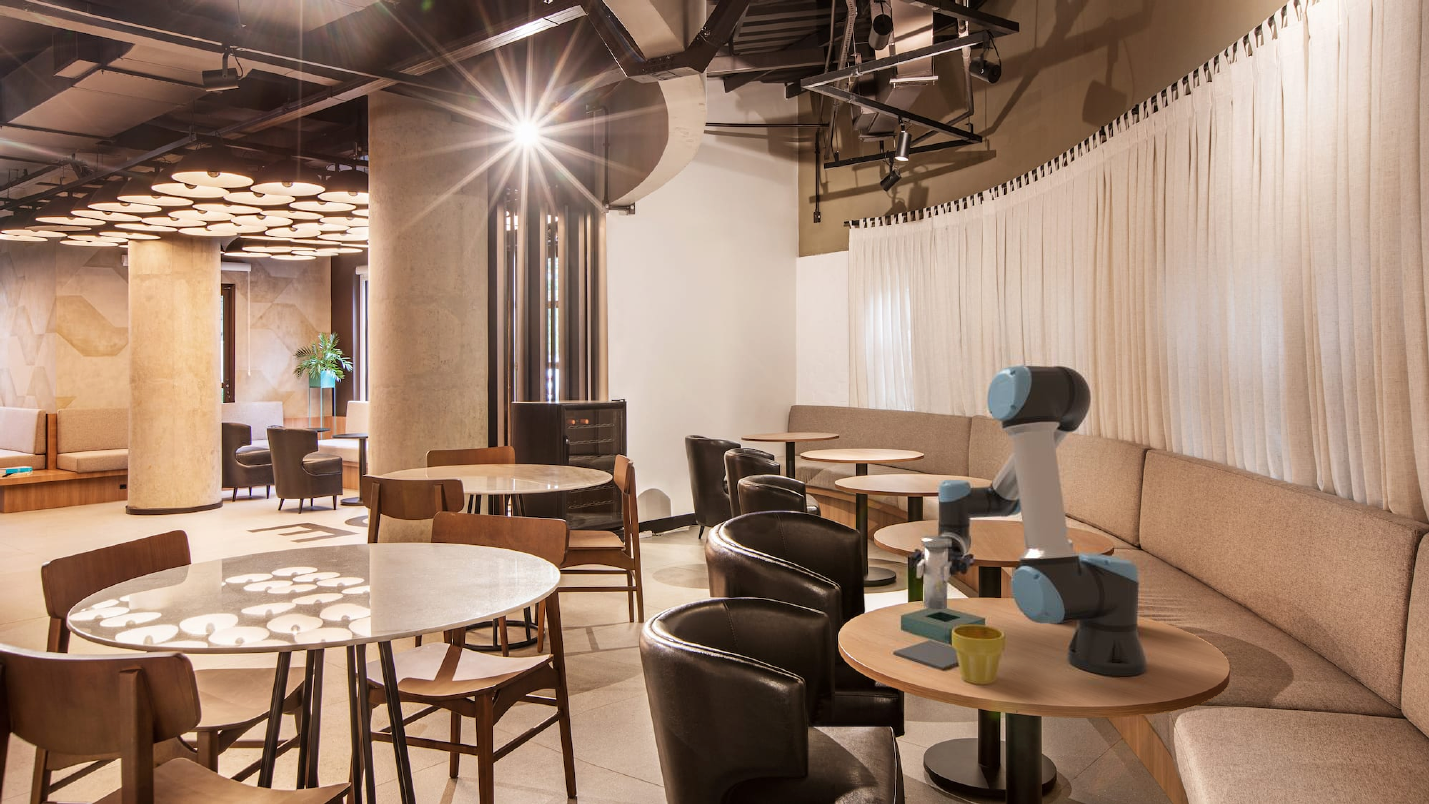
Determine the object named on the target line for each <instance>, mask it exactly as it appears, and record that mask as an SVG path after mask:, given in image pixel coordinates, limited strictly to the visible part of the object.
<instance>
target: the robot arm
mask: <svg viewBox="0 0 1429 804" xmlns="http://www.w3.org/2000/svg"><path fill="white" fill-rule="evenodd" d="M988 386H989V387H988V390H987V395H986V404H987V410H988V412H989V414H991V416H992V417H993V418H994V419H995V420H996V421H999V422H1001V428H1002V432H1003V433H1005V434H1006V435H1007V436H1009V438H1010V440H1011V446H1012V452H1011V454H1010V456H1009V457H1008V459H1007V460H1006V461H1005V463H1004V464H1003V466H1002V467H1001V469H1000V470H999V471H998V473H997V474H996V476H995V478H994V479H993V480H992V482H991V483H990V484H989V486H984V487H983V486H982V487H971V483H970V482H969V481H967V480H962V479H946V480H942V481H941V482H940V483H939V487H938V499H937V500H938V524H937V528H938V529H937V536H945V537H949V538H951V539H952V541H951V547H949V548H948V563H947V564H946V566H945V567H944V581H949V580H950V577H951V576H955V575H957V574H958V572H960V574H962V575H966V574H967V573H968V571H969V569H970V568H971V567H973V566H974V558H975V557H974V555H975V554H974V553H973V554H972V553H968V552H969V551H970V548H971V545H972V537H971V535H970V530H971V529H970V526H971V525H970V524H971V523H970V522H971V519H977V518H993V517H994V518H997V517H999V518H1000V517H1002V518H1003V517H1004V518H1005V517H1009V516H1016V515H1018V514H1021V521H1022V527H1023V529H1022V530H1023V536H1024V537H1023V538H1024V544H1025V551H1024V552H1023V553H1022V554H1021V556H1020V557H1019V562H1020V563H1019V564H1020V567H1018V568H1017V569H1016V570H1015V571H1014V572H1013V574H1012V578H1011V583H1010V587H1011V588H1010V589H1011V593H1012V597H1013V600H1014V602H1015V604H1016V607H1017V608H1018V609H1019V611H1020V612H1021V613H1022V614H1023V615H1024V617H1026V618H1027V619H1028V620H1030V621H1032V622H1035V623H1038V624H1059V622H1062V623H1065V622H1064V621H1068V622H1071V621H1076V622H1077V623H1076V628H1075V630H1074V632H1073V635H1072V637H1071V641H1070V643H1069V646H1068V649H1067V660H1068V661H1067V662H1069V664H1071V665H1072V666H1074V667H1076V668H1078V669H1081V670H1083V671H1087V672H1091V673H1093V674H1094V673H1095V674H1099V675H1104V676H1105V675H1106V676H1114V677H1133V676H1138V675H1141V674H1144V673H1145V672H1146V670H1147V658H1146V655H1145V652H1144V649H1143V646H1142V643H1141V640H1140V637H1139V633H1138V613H1139V612H1138V611H1139V610H1138V609H1139V586H1140V585H1139V584H1140V581H1139V570H1138V569H1137V568H1138V567H1137V565H1136V564H1135V563H1134V562H1133V561H1131V560H1128V559H1125V558H1121V557H1116V556H1112V555H1108V554H1107V555H1106V554H1100V553H1090V552H1081V553H1078V552H1076V551H1075V550H1074V548H1073V549H1071V547H1070V546H1069V535H1068V534H1069V532H1068V526H1067V521H1066V514H1065V513H1066V512H1065V506H1064V498H1063V491H1062V485H1061V484H1062V483H1061V477H1060V471H1059V464H1058V459H1057V458H1058V457H1057V448H1058V447H1059V446H1060V444H1061V443H1062V442H1063V440H1064V439H1065V438H1066V437H1067V435H1068V433H1073V432H1075V431H1076V430H1078V428H1079V427H1080V425H1082V423H1083V422H1084V420H1085V419H1086V416H1087V415H1088V413H1089V410H1090V407H1091V401H1092V399H1091V398H1092V397H1091V395H1092V394H1091V389H1090V386H1089V384H1088V382H1087V380H1086V379H1085V377H1083V376H1082V374H1081V373H1079V372H1078V371H1077V370H1075V369H1072V368H1070V367H1069V366H1061V365H1054V366H1049V365H1048V366H1042V365H1039V366H1037V365H1023V364H1022V365H1017V366H1007V367H1003V368H1002V369H1000V370H999V371H998V372H997V373H996V374H995V375H994V376H993V377H992V380H991V382H990V384H989V385H988ZM909 569H911V570H914V571H915V572H916V579H921V578H922V576H924V551H923V550H920V549H919V548H915V549H914V552H913V554H911V555H910V557H909Z"/></svg>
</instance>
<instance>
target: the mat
mask: <svg viewBox="0 0 1429 804" xmlns="http://www.w3.org/2000/svg"><path fill="white" fill-rule="evenodd" d="M892 652H893V653H892V654H893V655H895V656H898V657H900V658H904V659H907V660H909V661H913V662H915V663H919V664H922V665H925V666H928V667H931V668H933V669H937V670H940V671H944V670H947V669H950V668H953V667H956V666H959V663H958V659H957V654H956V650H955V649H954V648H953V646H952V645H949V644H946V643H945V644H944V643H943V642H939V641H936V640H933V639H929V640H926V641H922V642H920V643H916V644H913V645H910V646H907V647H904V648H900V649H898V650H895V651H892Z"/></svg>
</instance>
